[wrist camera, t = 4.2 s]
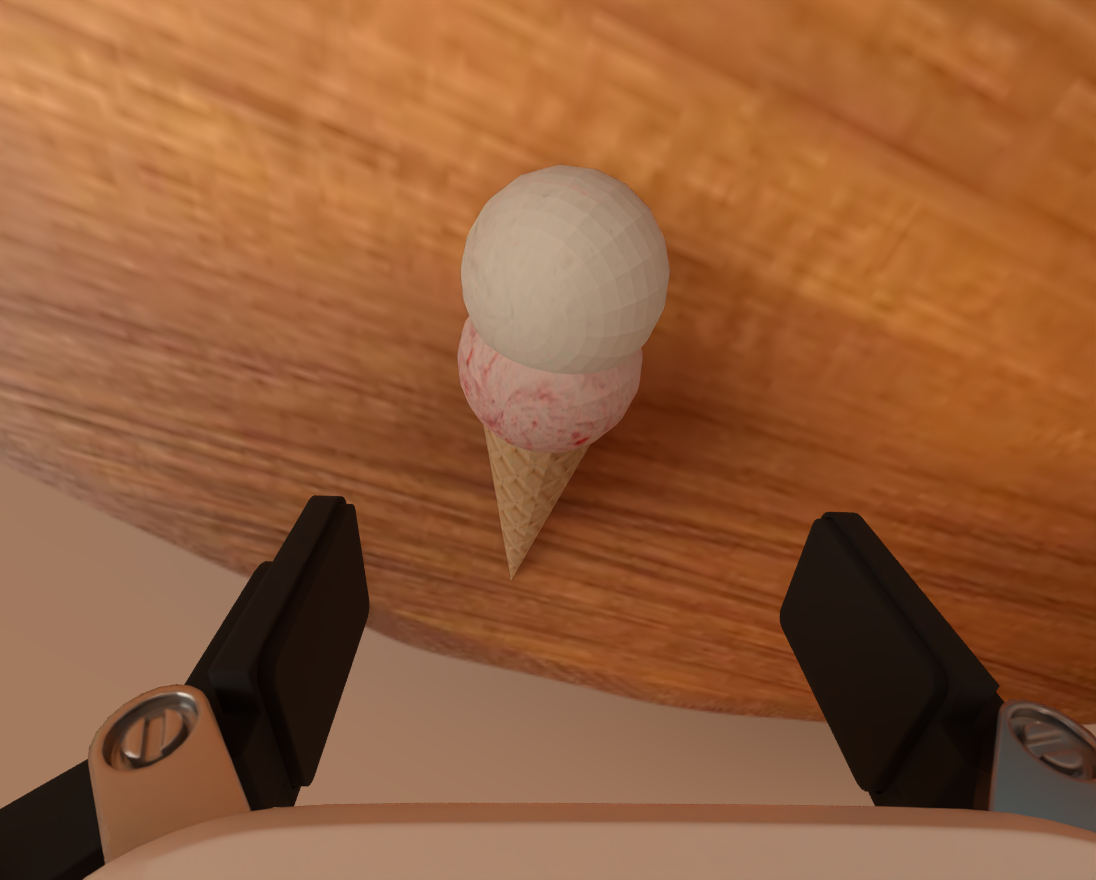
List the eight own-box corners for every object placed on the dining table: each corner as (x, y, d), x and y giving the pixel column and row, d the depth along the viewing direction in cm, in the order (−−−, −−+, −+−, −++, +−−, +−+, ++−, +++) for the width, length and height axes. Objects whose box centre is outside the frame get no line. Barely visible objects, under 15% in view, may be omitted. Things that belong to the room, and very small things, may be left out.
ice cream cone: (590, 564, 22) (723, 177, 12) (536, 663, 19) (657, 246, 9) (490, 513, 23) (535, 121, 13) (422, 598, 20) (414, 163, 10)
